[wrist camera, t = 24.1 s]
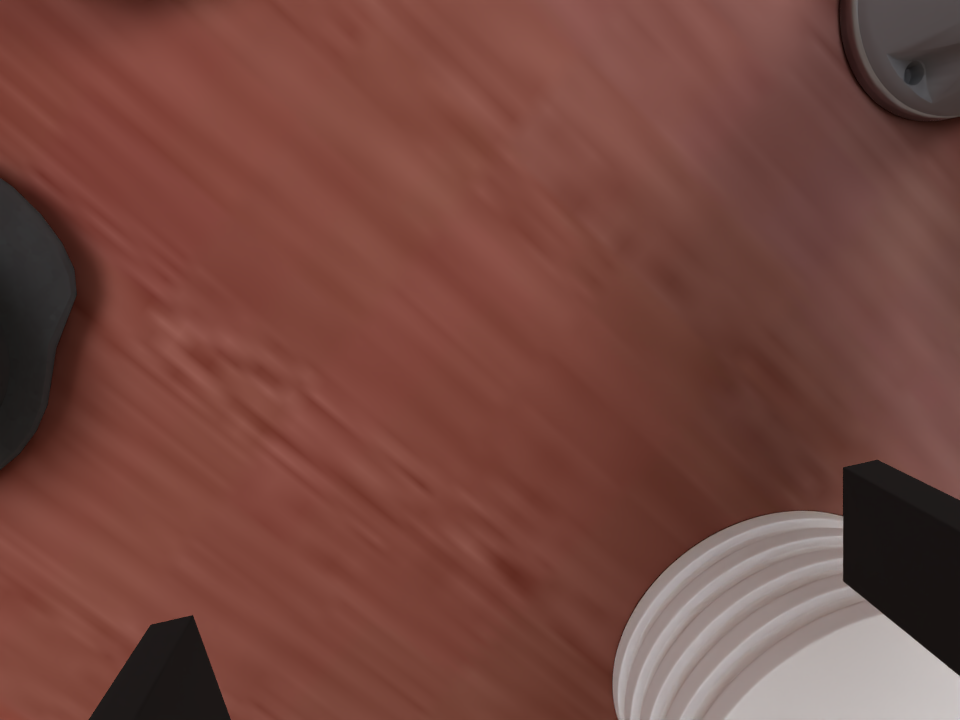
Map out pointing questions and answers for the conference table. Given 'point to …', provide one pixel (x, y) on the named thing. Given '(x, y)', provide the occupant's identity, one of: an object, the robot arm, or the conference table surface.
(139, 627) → the conference table surface
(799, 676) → the plate stack
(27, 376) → the casserole
